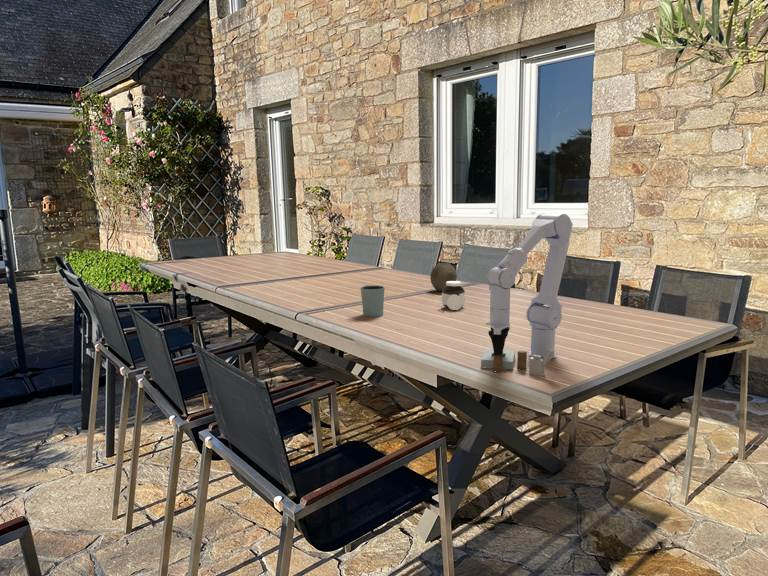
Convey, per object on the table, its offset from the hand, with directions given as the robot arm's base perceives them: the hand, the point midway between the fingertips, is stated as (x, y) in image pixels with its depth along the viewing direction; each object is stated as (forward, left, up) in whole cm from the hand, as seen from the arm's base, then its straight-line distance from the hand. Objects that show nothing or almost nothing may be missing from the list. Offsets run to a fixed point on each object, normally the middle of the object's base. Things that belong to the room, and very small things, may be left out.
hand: (498, 352), depth 170 cm
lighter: (+8, +12, -3) cm, 15 cm away
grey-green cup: (-58, -58, -3) cm, 82 cm away
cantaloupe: (-126, -40, -3) cm, 132 cm away
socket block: (0, 0, -3) cm, 3 cm away
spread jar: (-81, -26, -3) cm, 85 cm away
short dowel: (+8, 0, -3) cm, 9 cm away
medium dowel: (+4, +7, -3) cm, 9 cm away
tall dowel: (0, 0, -3) cm, 3 cm away
